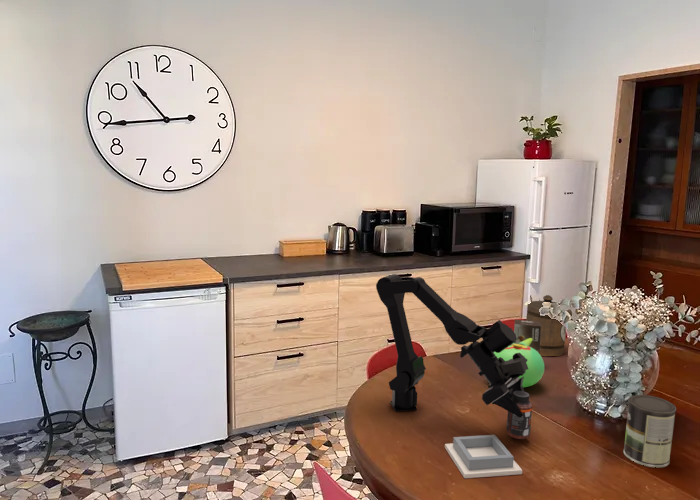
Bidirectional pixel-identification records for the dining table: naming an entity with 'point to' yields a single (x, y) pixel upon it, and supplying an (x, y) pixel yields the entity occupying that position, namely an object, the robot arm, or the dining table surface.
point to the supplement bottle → (520, 425)
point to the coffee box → (528, 332)
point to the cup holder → (482, 457)
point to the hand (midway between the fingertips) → (525, 412)
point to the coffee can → (649, 430)
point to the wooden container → (547, 329)
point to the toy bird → (533, 362)
